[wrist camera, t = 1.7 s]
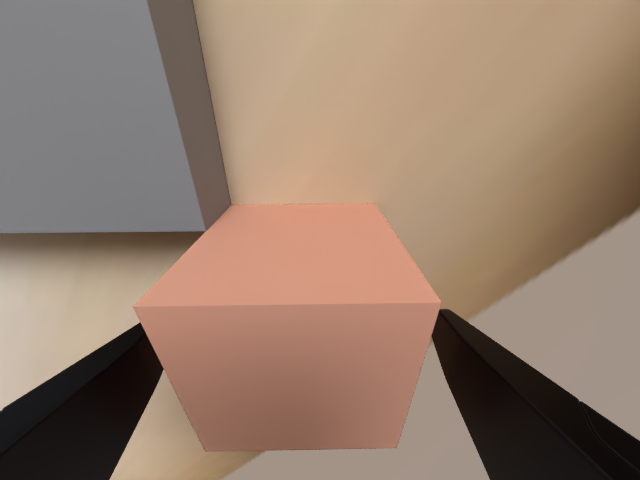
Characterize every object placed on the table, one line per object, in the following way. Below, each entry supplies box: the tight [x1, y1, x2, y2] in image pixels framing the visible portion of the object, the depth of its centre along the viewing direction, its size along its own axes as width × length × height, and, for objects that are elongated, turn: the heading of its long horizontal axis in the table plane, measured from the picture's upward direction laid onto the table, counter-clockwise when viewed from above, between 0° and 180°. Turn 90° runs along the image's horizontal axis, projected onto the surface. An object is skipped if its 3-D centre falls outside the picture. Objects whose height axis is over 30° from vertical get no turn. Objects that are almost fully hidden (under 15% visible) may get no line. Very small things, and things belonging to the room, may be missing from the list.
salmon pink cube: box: [133, 204, 441, 452], centre depth 9 cm, size 6×6×6 cm
